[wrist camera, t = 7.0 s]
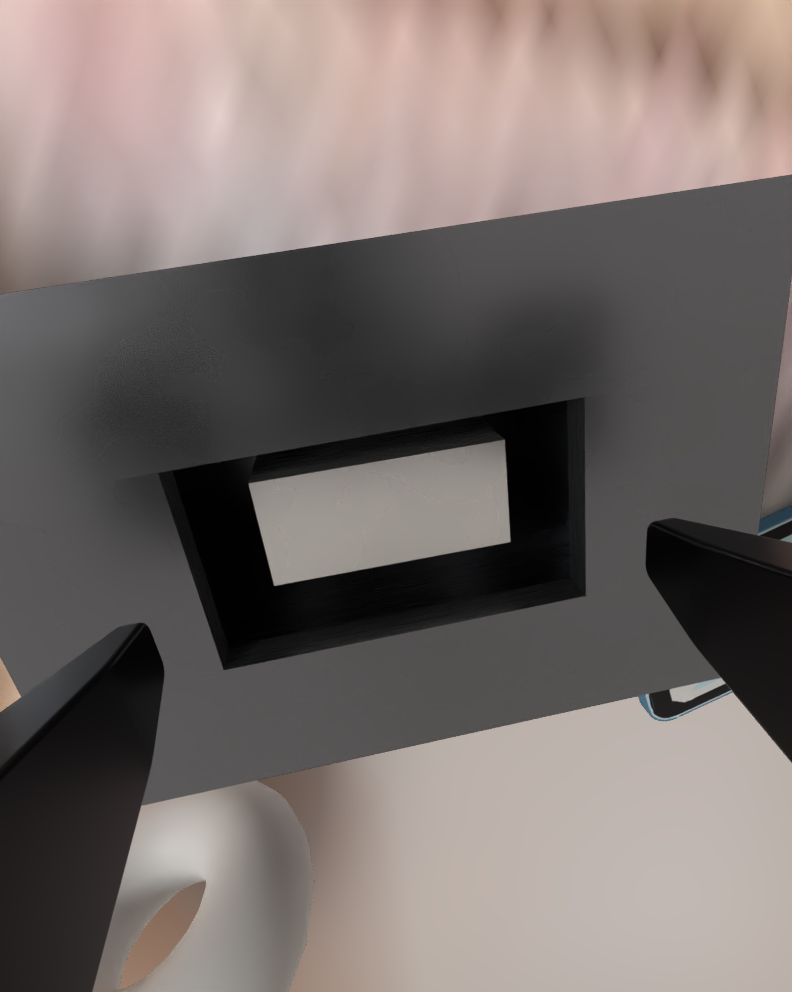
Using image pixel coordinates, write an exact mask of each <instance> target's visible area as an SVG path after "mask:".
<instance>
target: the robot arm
mask: <svg viewBox="0 0 792 992" xmlns="http://www.w3.org/2000/svg"><path fill="white" fill-rule="evenodd" d="M645 565H646V571H647V574H648V576H649V578H650V580H651V581H652V583H653V584H654V586H655V587H656V589H657V590H658V592H659V593H660V595H661V596H662V598H663V599H664V601H665V602H666V604H667V605H668V607H669V608H670V610H671V611H672V613H673V614H674V616H675V617H676V619H677V620H678V622H679V623H680V625H681V626H682V628H683V629H684V631H685V632H686V634H687V635H688V637H689V638H690V640H691V641H692V642H693V644H694V645H695V646H696V648H697V649H698V650H699V652H700V653H701V654H702V655H703V657H704V658H705V659H706V660H707V662H708V663H709V664H710V665H711V666H712V668H713V669H714V670H715V671H716V672H717V674H718V675H719V676H720V677H721V678H722V680H723V681H724V682H725V683H726V684H727V686H728V687H729V688H730V689H731V690H732V692H733V693H734V694H735V695H736V696H737V698H738V699H739V700H740V701H741V702H742V704H743V705H744V706H745V707H746V708H747V710H748V711H749V712H750V713H751V714H752V716H753V717H754V718H755V719H756V720H757V722H758V723H759V724H760V725H761V726H762V728H763V729H764V730H765V731H766V732H767V734H768V735H769V736H770V737H771V738H772V740H773V741H774V742H775V743H776V744H777V746H778V747H779V748H780V749H781V750H782V751H783V753H784V754H785V755H786V756H787V758H788V759H789V760H790V761H791V762H792V543H791V542H787V541H782V540H777V539H773V538H768V537H763V536H758V535H754V534H749V533H744V532H739V531H735V530H730V529H725V528H720V527H716V526H711V525H706V524H702V523H697V522H692V521H687V520H683V519H678V518H668V519H663V520H658V521H654V522H651V524H650V525H649V526H648V528H647V537H646V560H645ZM164 677H165V671H164V665H163V661H162V659H161V656H160V653H159V651H158V648H157V646H156V643H155V640H154V638H153V635H152V633H151V630H150V628H149V627H148V626H147V624H145V623H135V624H130V625H124V626H120V627H118V628H116V629H114V630H113V631H112V632H110V633H109V634H108V635H106V636H105V637H103V638H102V639H101V640H99V641H98V642H97V643H95V644H94V645H92V646H91V647H90V648H88V649H87V650H86V651H84V652H83V653H81V654H80V655H79V656H77V657H76V658H75V659H73V660H72V661H70V662H69V663H68V664H66V665H65V666H64V667H62V668H61V669H59V670H58V671H57V672H55V673H54V674H53V675H51V676H50V677H48V678H47V679H46V680H44V681H43V682H42V683H40V684H39V685H37V686H36V687H35V688H33V689H32V690H31V691H29V692H28V693H26V694H25V695H24V696H22V697H21V698H19V699H18V700H17V701H15V702H14V703H13V704H11V705H10V706H8V707H7V708H6V709H4V710H3V711H2V712H0V992H93V988H94V984H95V981H96V977H97V973H98V969H99V965H100V962H101V958H102V954H103V950H104V946H105V942H106V939H107V935H108V931H109V927H110V923H111V920H112V916H113V912H114V908H115V904H116V901H117V897H118V893H119V889H120V885H121V881H122V878H123V874H124V870H125V866H126V862H127V859H128V855H129V851H130V847H131V843H132V839H133V836H134V832H135V828H136V824H137V820H138V817H139V813H140V809H141V805H142V801H143V797H144V794H145V790H146V786H147V782H148V778H149V774H150V770H151V765H152V760H153V754H154V748H155V741H156V734H157V727H158V720H159V713H160V706H161V699H162V692H163V685H164Z"/></svg>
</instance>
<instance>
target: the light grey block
mask: <svg viewBox="0 0 792 992" xmlns="http://www.w3.org/2000/svg"><path fill="white" fill-rule="evenodd" d="M248 484H249V488H250V492H251V496H252V500H253V504H254V508H255V512H256V516H257V520H258V524H259V528H260V531H261V535H262V539H263V543H264V547H265V551H266V555H267V559H268V563H269V567H270V571H271V575H272V579H273V583H274V586H276V585H282V584H287V583H293V582H298V581H303V580H309V579H314V578H319V577H325V576H330V575H336V574H341V573H346V572H352V571H357V570H363V569H368V568H373V567H379V566H384V565H389V564H395V563H400V562H406V561H411V560H416V559H422V558H427V557H433V556H438V555H443V554H449V553H454V552H459V551H465V550H470V549H476V548H481V547H486V546H492V545H497V544H503V543H508V542H510V524H509V506H508V488H507V470H506V452H505V440H504V439H503V438H502V437H501V436H500V435H499V434H498V433H496V432H495V431H494V430H493V429H492V428H491V427H490V426H488V425H487V424H486V423H485V422H484V421H483V420H482V419H480V418H479V417H478V416H475V417H470V418H464V419H458V420H453V421H447V422H441V423H436V424H430V425H425V426H419V427H413V428H408V429H402V430H396V431H391V432H385V433H380V434H374V435H368V436H363V437H357V438H351V439H346V440H340V441H334V442H329V443H323V444H318V445H312V446H306V447H301V448H295V449H289V450H284V451H278V452H273V453H267V454H261V455H257V457H256V460H255V463H254V467H253V470H252V473H251V476H250V480H249V483H248Z"/></svg>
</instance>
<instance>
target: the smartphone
mask: <svg viewBox="0 0 792 992" xmlns="http://www.w3.org/2000/svg"><path fill="white" fill-rule="evenodd" d="M758 536H763V537H768V538H773V539H777V540H782V541H787V542H791V543H792V506H789V507H787V508H785V509H783V510H780V511H778V512H776V513H774V514H772V515H769V516H767V517H765V518H763V519H760V522H759V529H758ZM730 693H732V690H731V689H730V688H729V687H728V686H727V684H726V683H725V682H724V681H723V680H722V678H718V679H713V680H709V681H704V682H700V683H695V684H691V685H686V686H682V687H677V688H673V689H668V690H664V691H659V692H655V693H650V694H646V695H641V696H638V697H639V700H640V703H641V705H642V706H643V707H644V708H645V710H646V711H647V712H648V713H649V715H650V716H651V717H652V718H654V719H656V720H659V721H669V720H673V719H676V718H678V717H680V716H682V715H684V714H687V713H689V712H691V711H693V710H695V709H697V708H699V707H702V706H704V705H706V704H708V703H710V702H712V701H715V700H717V699H719V698H721V697H723V696H725V695H728V694H730Z"/></svg>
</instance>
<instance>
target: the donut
mask: <svg viewBox="0 0 792 992" xmlns="http://www.w3.org/2000/svg"><path fill="white" fill-rule="evenodd" d="M202 881H206V889H205V892H204V895H203V899H202V902H201V905H200V909H199V911H198V912H197V914H196V916H195V918H194V920H193V922H192V924H191V926H190V927H189V929H188V931H187V932H186V934H185V935H184V936H183V938H182V939H181V940H180V941H179V943H178V944H177V945H176V947H175V948H174V949H173V951H172V952H171V953H170V954H169V956H168V957H167V958H166V959H165V960H164V961H163V962H162V963H161V964H160V965H159V966H157V967H156V968H155V969H154V970H153V971H152V972H151V973H150V974H149V975H148V976H146V977H144V978H143V979H141V980H139V981H137V982H136V983H134V984H132V985H131V986H129V987H127V988H124V989H120V983H121V978H122V972H123V968H124V965H125V962H126V960H127V957H128V955H129V952H130V950H131V948H132V947H133V945H134V944H135V942H136V940H137V939H138V937H139V935H140V934H141V932H142V930H143V929H144V927H145V926H146V925H147V924H148V922H149V921H150V920H151V919H152V917H153V916H154V915H155V914H156V913H157V912H158V910H159V909H160V908H161V907H162V906H163V905H164V904H165V903H166V902H168V901H169V900H170V899H171V898H172V897H173V896H174V895H176V894H177V893H178V892H179V891H181V890H182V889H184V888H186V887H188V886H189V885H191V884H194V883H198V882H202ZM313 891H314V876H313V869H312V862H311V855H310V849H309V843H308V837H307V835H306V832H305V830H304V827H303V826H302V824H301V823H300V821H299V819H298V818H297V816H296V815H295V813H294V811H293V810H292V808H291V806H290V805H289V803H288V802H287V800H286V799H285V798H284V797H283V796H282V795H280V793H278V792H277V791H275V790H273V789H271V788H270V787H268V786H266V785H264V784H262V783H260V782H259V781H257V780H256V781H252V782H247V783H243V784H238V785H234V786H229V787H225V788H220V789H216V790H211V791H207V792H202V793H198V794H193V795H188V796H184V797H179V798H175V799H170V800H166V801H161V802H157V803H152V804H148V805H143V806H141V809H140V813H139V817H138V820H137V824H136V828H135V832H134V836H133V839H132V843H131V847H130V851H129V855H128V859H127V862H126V866H125V870H124V874H123V878H122V881H121V885H120V889H119V893H118V897H117V901H116V904H115V908H114V912H113V916H112V920H111V923H110V927H109V931H108V935H107V939H106V942H105V946H104V950H103V954H102V958H101V962H100V965H99V969H98V973H97V977H96V981H95V984H94V988H93V992H288V991H289V989H290V986H291V983H292V981H293V977H294V975H295V972H296V970H297V967H298V965H299V962H300V959H301V957H302V954H303V951H304V949H305V946H306V942H307V934H308V927H309V920H310V913H311V906H312V899H313Z"/></svg>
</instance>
